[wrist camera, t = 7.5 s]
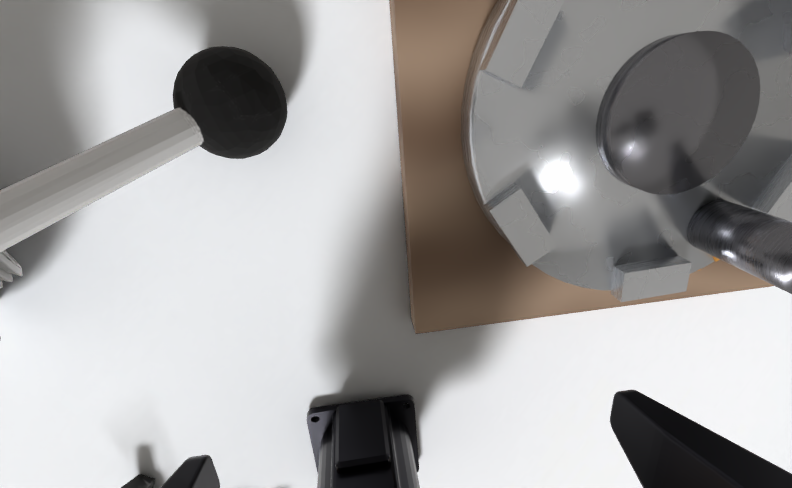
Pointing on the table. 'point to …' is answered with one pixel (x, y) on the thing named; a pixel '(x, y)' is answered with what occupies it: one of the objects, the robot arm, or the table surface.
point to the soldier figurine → (140, 482)
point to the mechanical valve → (154, 143)
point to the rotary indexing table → (635, 138)
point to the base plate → (455, 201)
